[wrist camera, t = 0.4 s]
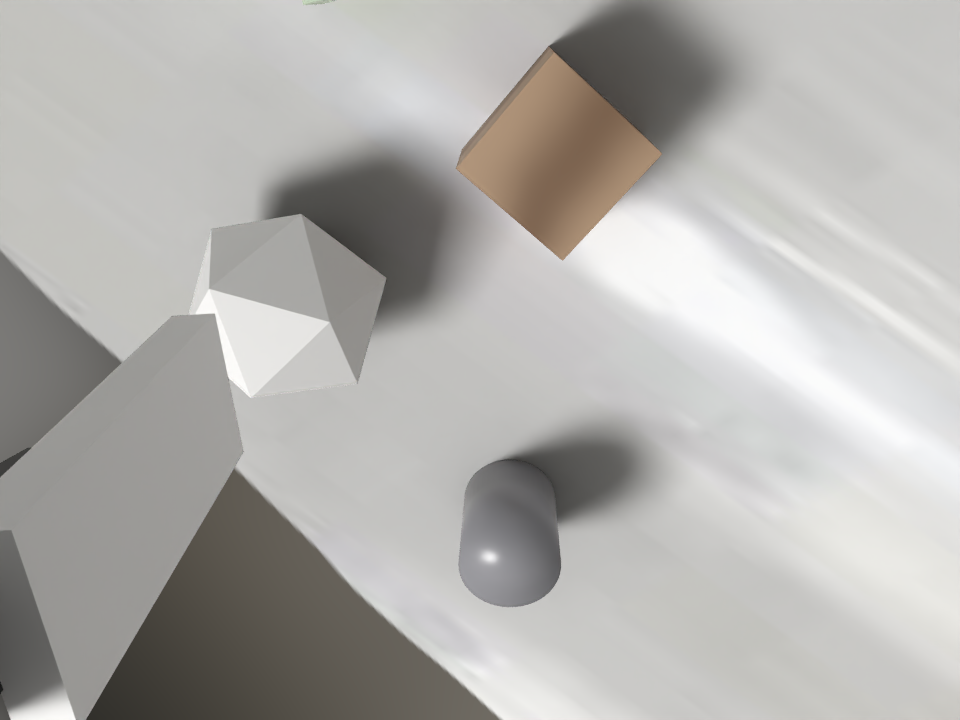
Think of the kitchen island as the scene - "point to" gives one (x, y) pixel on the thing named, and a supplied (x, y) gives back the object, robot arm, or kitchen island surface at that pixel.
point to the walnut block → (556, 155)
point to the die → (287, 305)
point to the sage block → (315, 2)
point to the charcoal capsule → (509, 534)
